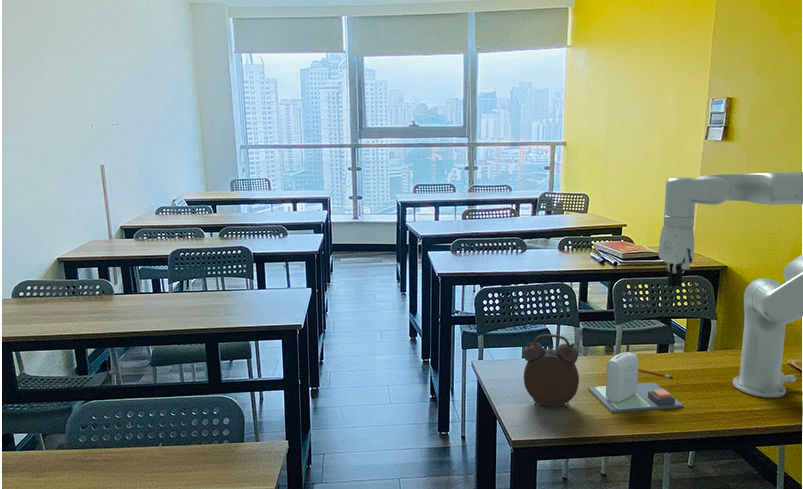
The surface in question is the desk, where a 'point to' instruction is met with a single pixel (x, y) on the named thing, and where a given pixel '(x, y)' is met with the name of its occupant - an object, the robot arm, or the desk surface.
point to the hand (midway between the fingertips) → (674, 285)
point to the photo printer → (622, 377)
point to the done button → (661, 393)
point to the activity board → (636, 399)
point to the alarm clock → (551, 372)
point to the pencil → (655, 373)
